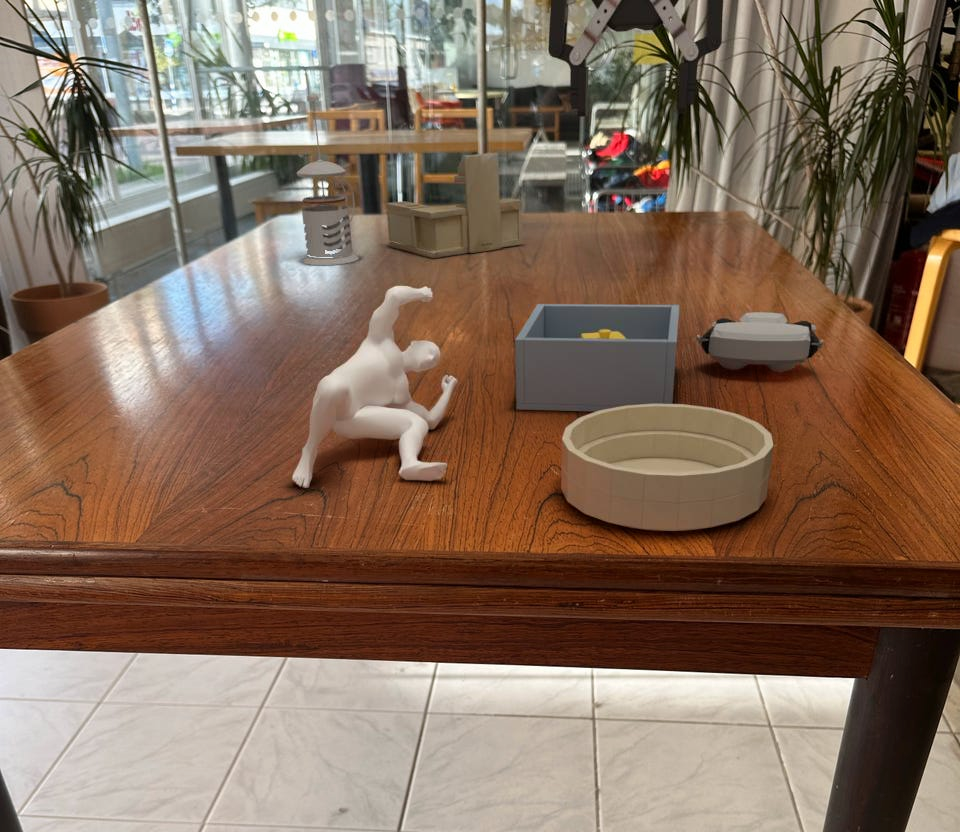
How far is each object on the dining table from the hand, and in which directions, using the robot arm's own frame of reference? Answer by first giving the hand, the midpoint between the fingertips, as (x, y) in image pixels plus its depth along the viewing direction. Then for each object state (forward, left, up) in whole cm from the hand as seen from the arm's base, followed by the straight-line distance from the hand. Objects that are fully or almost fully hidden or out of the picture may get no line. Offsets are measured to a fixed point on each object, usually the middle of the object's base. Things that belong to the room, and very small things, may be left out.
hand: (631, 114), depth 82 cm
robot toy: (-14, -11, -24) cm, 30 cm away
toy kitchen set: (+35, -83, -24) cm, 93 cm away
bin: (+2, 0, -24) cm, 24 cm away
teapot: (+2, 0, -24) cm, 24 cm away
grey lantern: (+54, -71, -24) cm, 92 cm away
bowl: (-5, +26, -24) cm, 36 cm away
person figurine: (+19, +19, -24) cm, 36 cm away
